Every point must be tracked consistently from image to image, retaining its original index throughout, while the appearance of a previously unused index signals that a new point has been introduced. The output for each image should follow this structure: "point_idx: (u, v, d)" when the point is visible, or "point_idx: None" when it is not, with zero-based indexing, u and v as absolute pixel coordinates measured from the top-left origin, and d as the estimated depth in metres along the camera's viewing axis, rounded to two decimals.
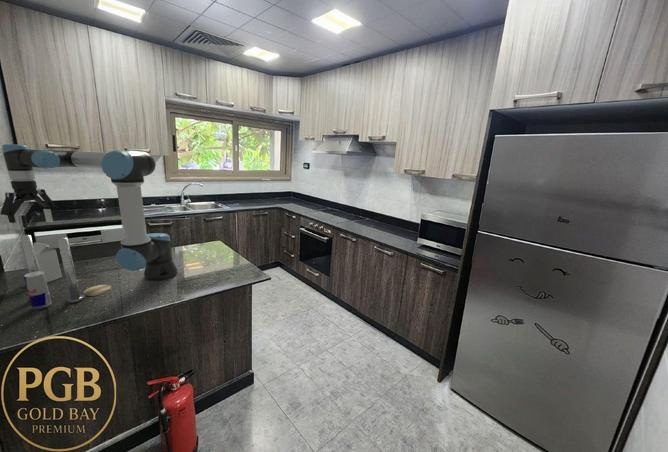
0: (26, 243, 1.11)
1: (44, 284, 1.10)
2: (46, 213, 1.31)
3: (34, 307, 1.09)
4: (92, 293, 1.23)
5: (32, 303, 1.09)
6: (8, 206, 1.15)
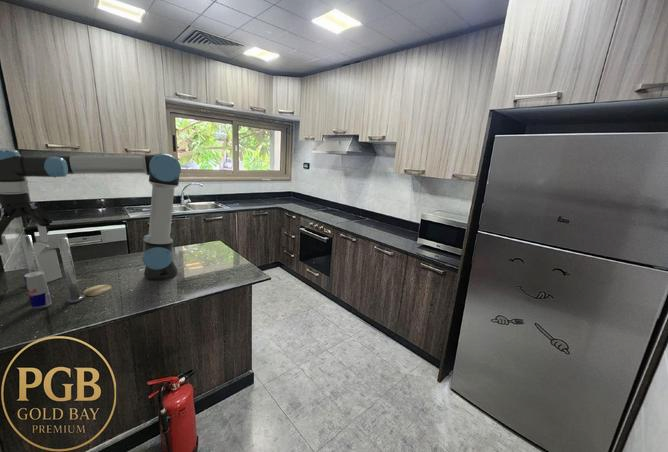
0: (26, 243, 1.11)
1: (44, 284, 1.10)
2: (40, 231, 1.10)
3: (34, 307, 1.09)
4: (92, 293, 1.23)
5: (32, 303, 1.09)
6: None
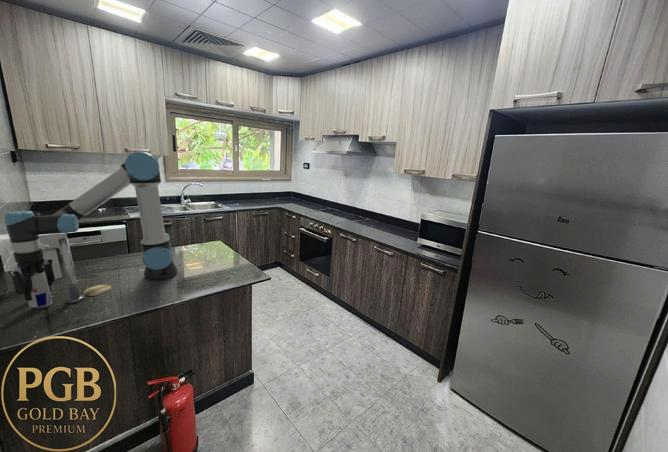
0: None
1: (45, 284, 1.10)
2: None
3: (35, 307, 1.09)
4: (92, 293, 1.23)
5: None
6: (20, 285, 1.03)
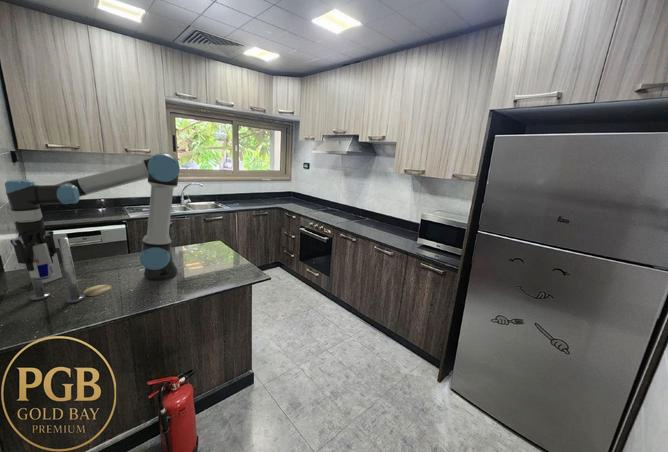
0: None
1: (46, 255, 1.10)
2: None
3: None
4: (92, 293, 1.23)
5: None
6: (22, 255, 1.03)
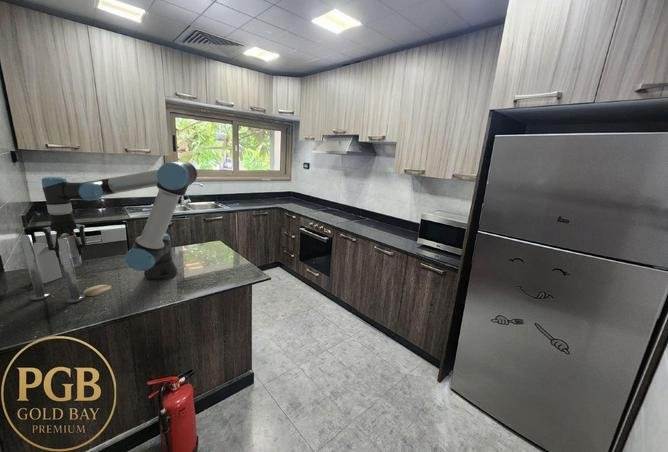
0: (26, 243, 1.11)
1: None
2: None
3: None
4: (92, 293, 1.23)
5: None
6: (47, 242, 1.16)
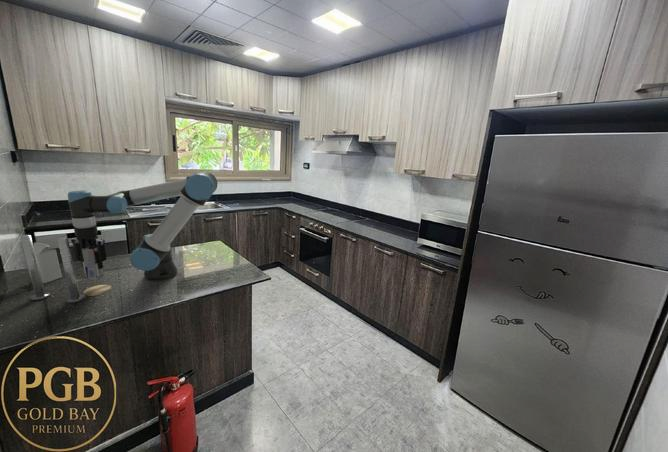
0: (26, 243, 1.11)
1: (87, 260, 1.19)
2: None
3: None
4: (92, 293, 1.23)
5: None
6: None
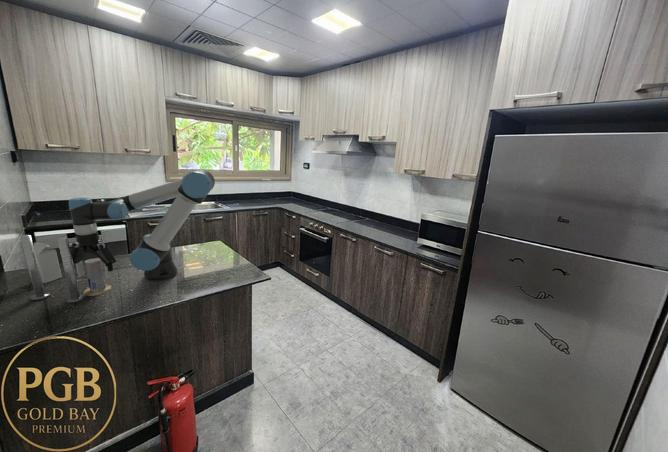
0: (26, 243, 1.11)
1: (89, 272, 1.21)
2: None
3: None
4: (92, 293, 1.23)
5: None
6: None
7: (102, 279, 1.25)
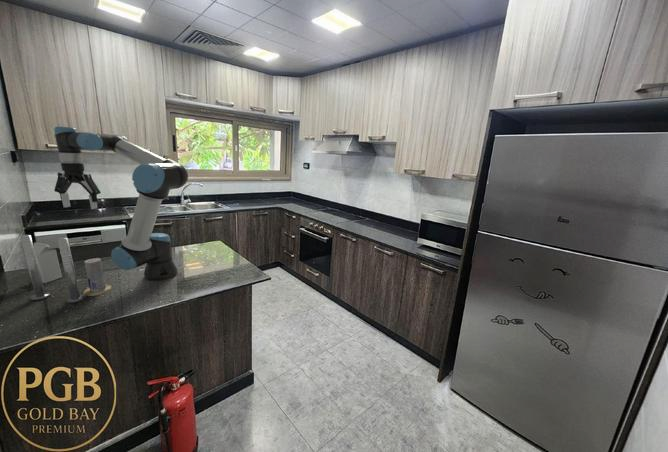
0: (26, 243, 1.11)
1: (89, 272, 1.21)
2: None
3: None
4: (92, 293, 1.23)
5: None
6: (56, 184, 1.25)
7: (102, 279, 1.25)
